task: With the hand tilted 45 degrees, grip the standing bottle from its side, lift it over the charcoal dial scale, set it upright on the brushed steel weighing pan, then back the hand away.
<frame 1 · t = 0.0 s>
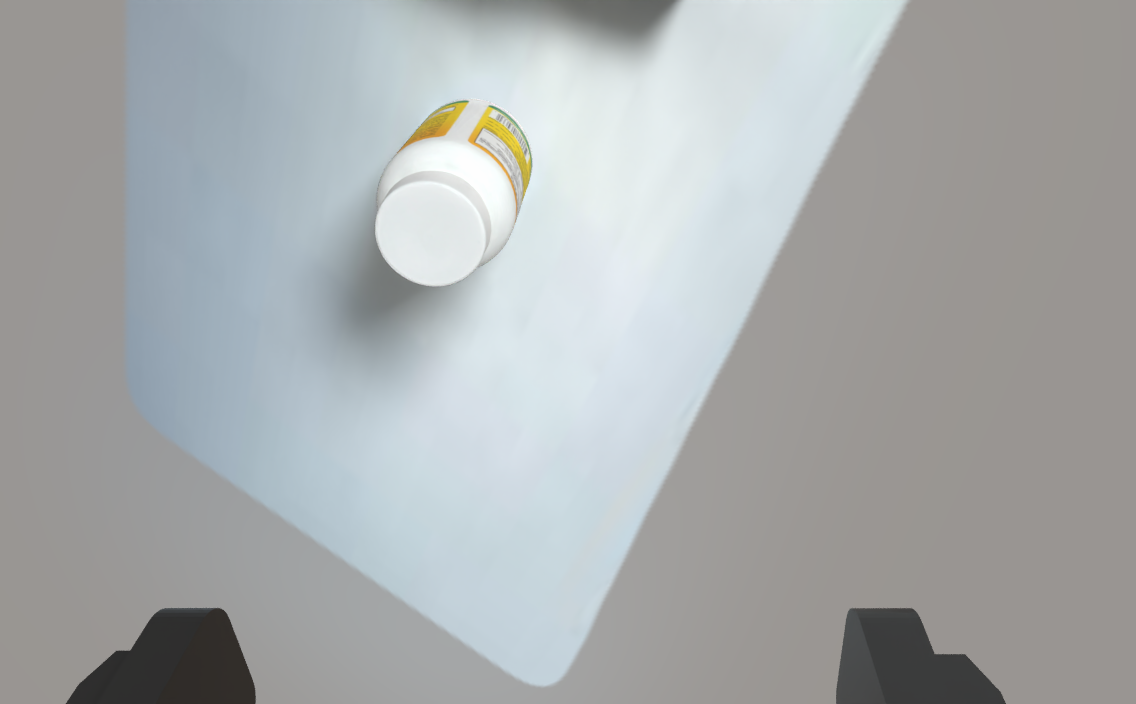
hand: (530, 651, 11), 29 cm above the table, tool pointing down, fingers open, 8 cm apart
supplement bottle: (474, 154, 38), on the table
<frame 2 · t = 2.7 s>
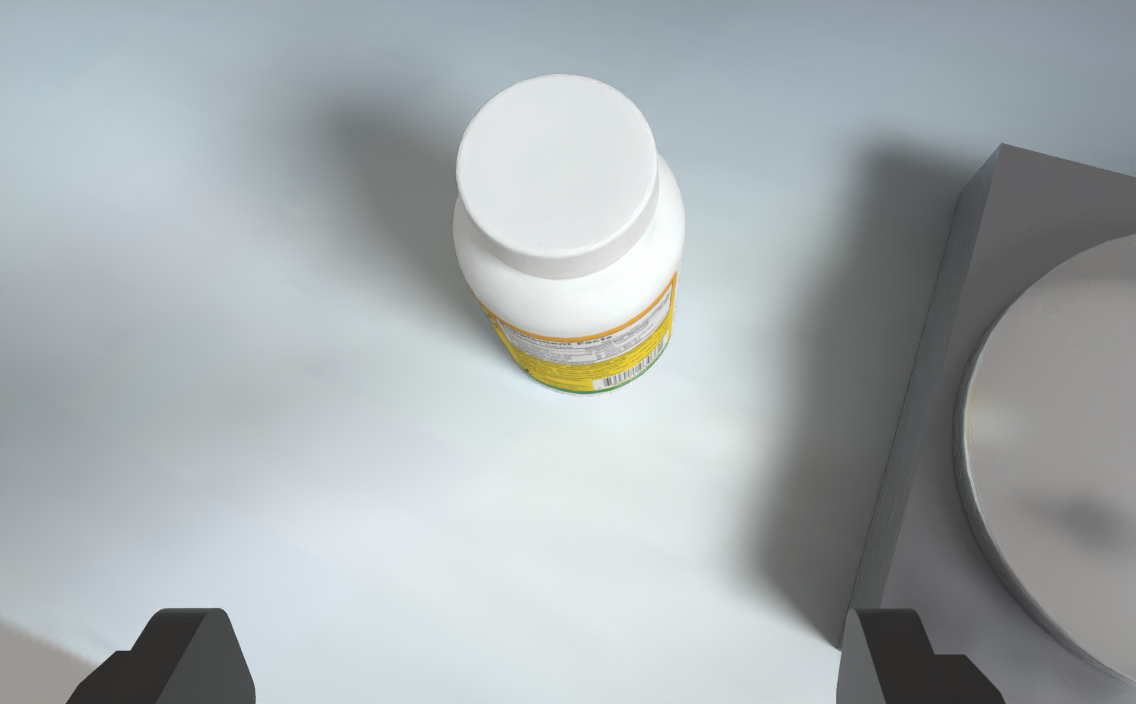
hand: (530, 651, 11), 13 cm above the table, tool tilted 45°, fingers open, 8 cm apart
supplement bottle: (587, 315, 26), on the table
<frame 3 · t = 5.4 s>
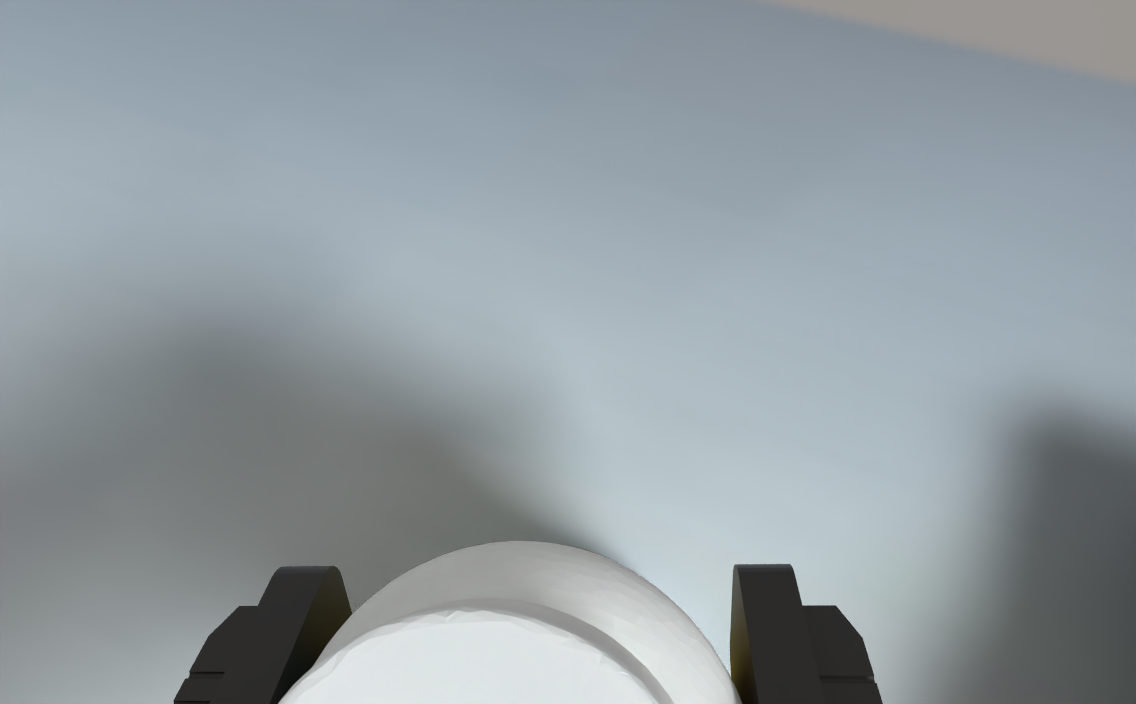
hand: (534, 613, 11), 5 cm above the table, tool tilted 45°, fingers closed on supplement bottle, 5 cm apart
supplement bottle: (569, 701, 16), on the table, touching gripper
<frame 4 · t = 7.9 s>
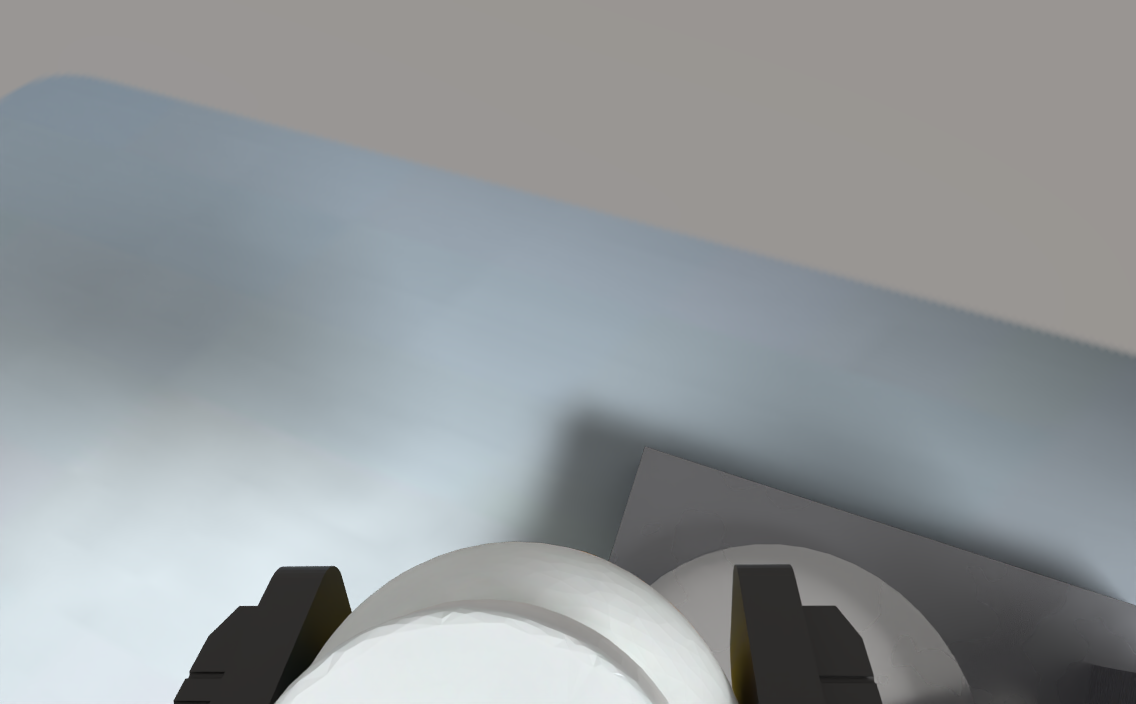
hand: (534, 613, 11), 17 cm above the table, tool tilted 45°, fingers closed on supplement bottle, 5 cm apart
supplement bottle: (567, 702, 16), point 13 cm above the table, touching gripper
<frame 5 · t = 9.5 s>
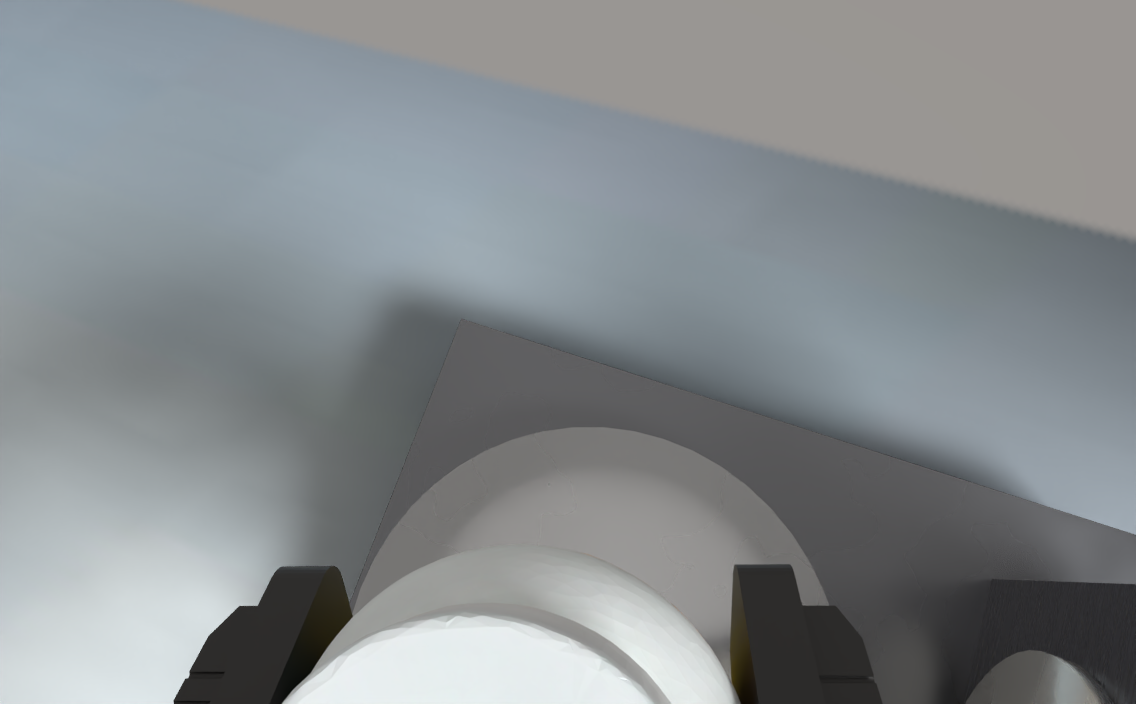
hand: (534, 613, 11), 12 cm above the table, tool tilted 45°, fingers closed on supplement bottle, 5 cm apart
scale: (688, 691, 22), on the table
when the fingers open (10 cm above the table, at t = 10.6 s): supplement bottle drops 1 cm, resting on scale.
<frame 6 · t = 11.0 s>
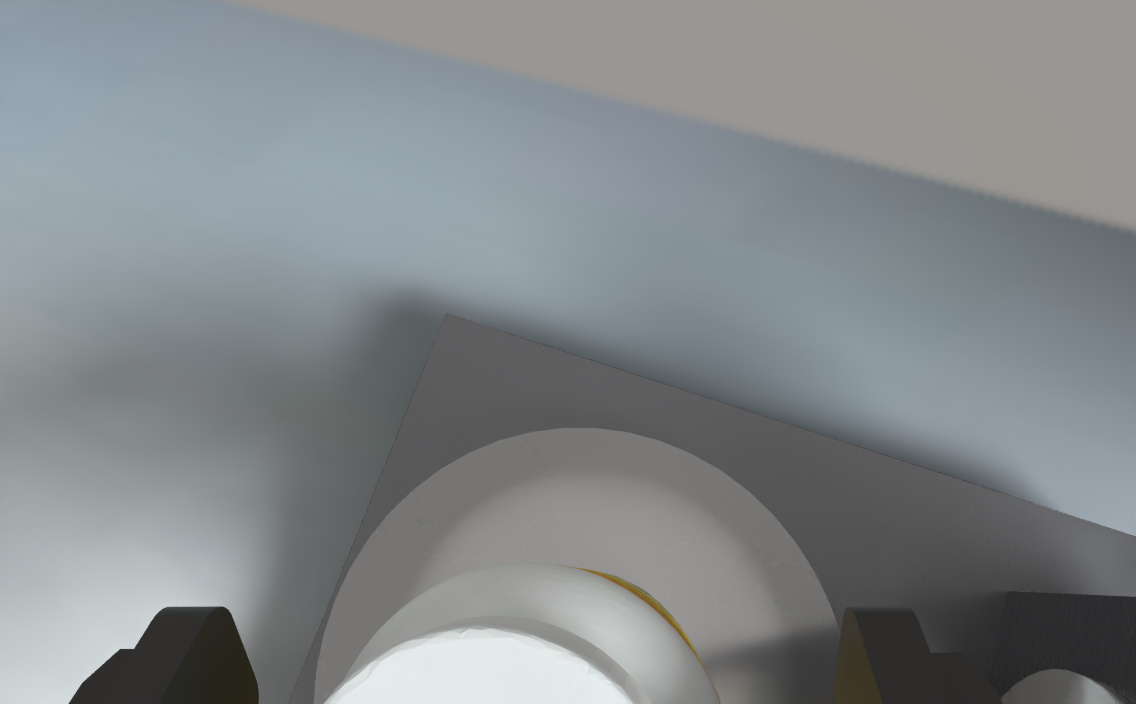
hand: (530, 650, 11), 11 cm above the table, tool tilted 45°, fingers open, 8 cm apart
supplement bottle: (579, 702, 17), point 4 cm above the table, touching scale
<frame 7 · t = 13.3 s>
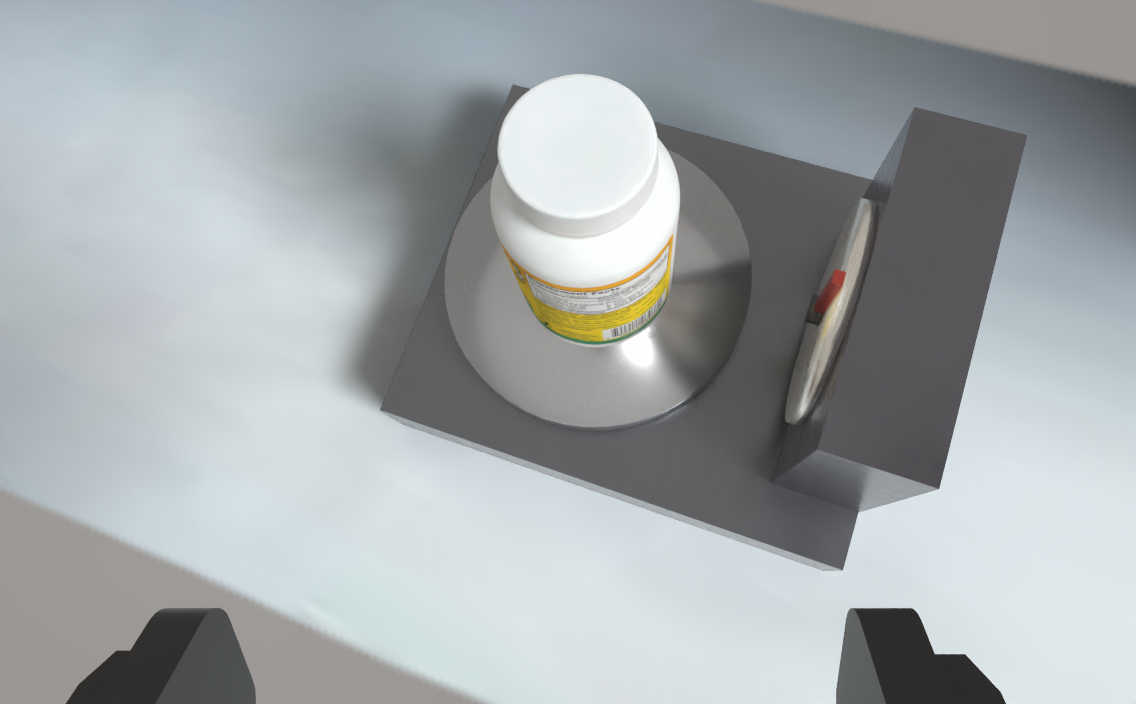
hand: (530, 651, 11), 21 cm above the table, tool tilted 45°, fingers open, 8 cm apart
supplement bottle: (597, 279, 30), point 4 cm above the table, touching scale
scale: (660, 327, 33), on the table
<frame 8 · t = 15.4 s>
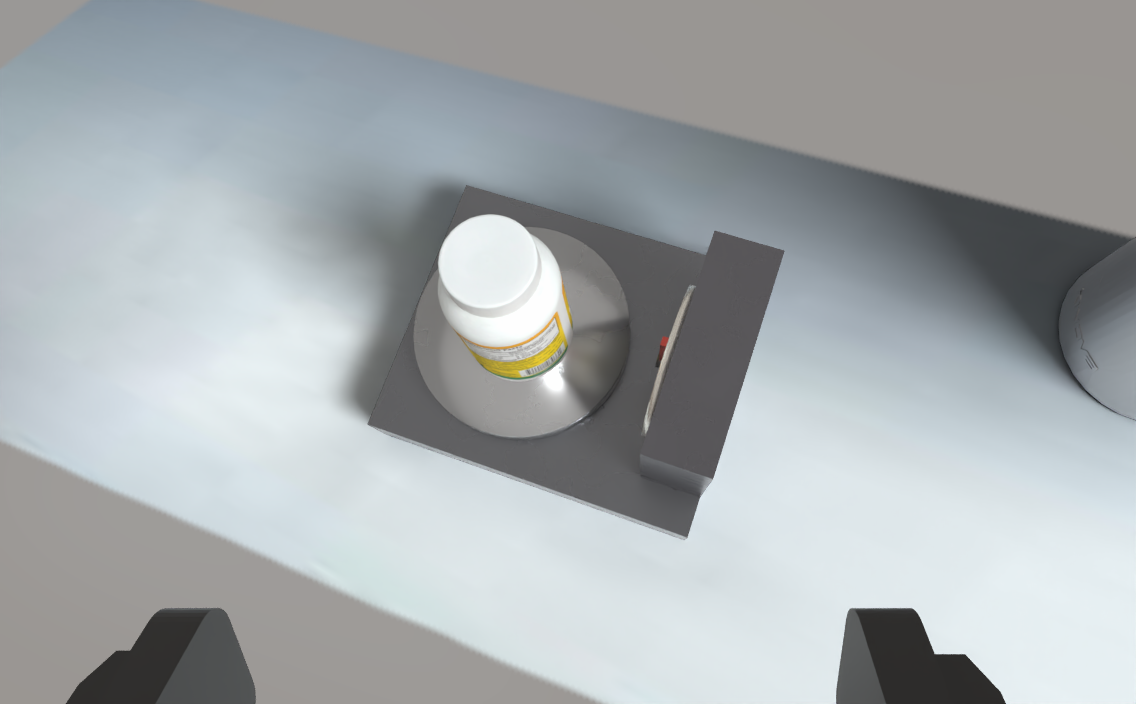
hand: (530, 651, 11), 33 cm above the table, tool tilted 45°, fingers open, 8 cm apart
supplement bottle: (522, 332, 42), point 4 cm above the table, touching scale
scale: (574, 363, 46), on the table
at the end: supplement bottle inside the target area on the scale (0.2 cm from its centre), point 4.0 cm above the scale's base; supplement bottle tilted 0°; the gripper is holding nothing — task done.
